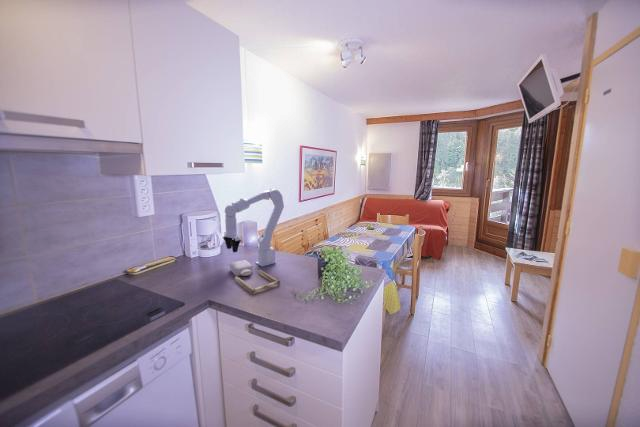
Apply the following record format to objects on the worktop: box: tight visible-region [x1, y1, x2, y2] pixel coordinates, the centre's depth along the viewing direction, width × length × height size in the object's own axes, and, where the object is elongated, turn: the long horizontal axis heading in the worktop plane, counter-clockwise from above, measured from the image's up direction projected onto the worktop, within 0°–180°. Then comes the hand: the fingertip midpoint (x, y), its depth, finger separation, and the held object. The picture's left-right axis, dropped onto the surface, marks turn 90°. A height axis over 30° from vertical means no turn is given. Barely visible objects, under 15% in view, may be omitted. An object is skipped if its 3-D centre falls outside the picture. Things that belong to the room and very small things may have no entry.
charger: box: [229, 259, 254, 277], centre depth 137 cm, size 5×9×15 cm
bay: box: [234, 269, 281, 295], centre depth 127 cm, size 14×18×2 cm
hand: (232, 250), depth 145 cm, fingers open, 7 cm apart
